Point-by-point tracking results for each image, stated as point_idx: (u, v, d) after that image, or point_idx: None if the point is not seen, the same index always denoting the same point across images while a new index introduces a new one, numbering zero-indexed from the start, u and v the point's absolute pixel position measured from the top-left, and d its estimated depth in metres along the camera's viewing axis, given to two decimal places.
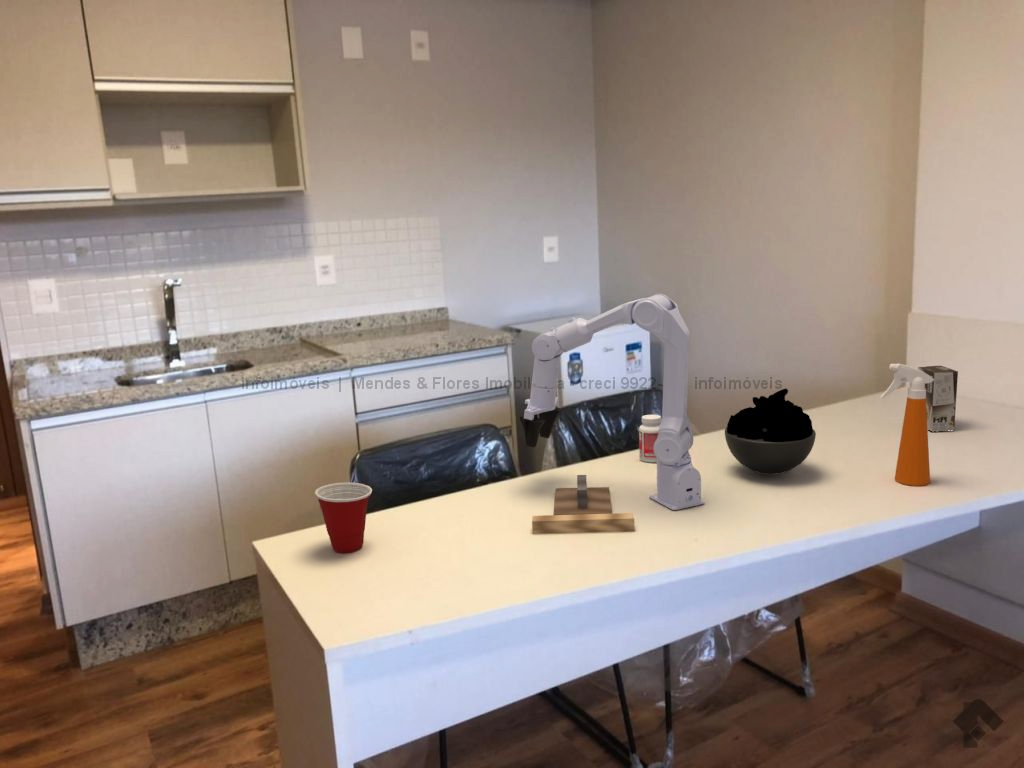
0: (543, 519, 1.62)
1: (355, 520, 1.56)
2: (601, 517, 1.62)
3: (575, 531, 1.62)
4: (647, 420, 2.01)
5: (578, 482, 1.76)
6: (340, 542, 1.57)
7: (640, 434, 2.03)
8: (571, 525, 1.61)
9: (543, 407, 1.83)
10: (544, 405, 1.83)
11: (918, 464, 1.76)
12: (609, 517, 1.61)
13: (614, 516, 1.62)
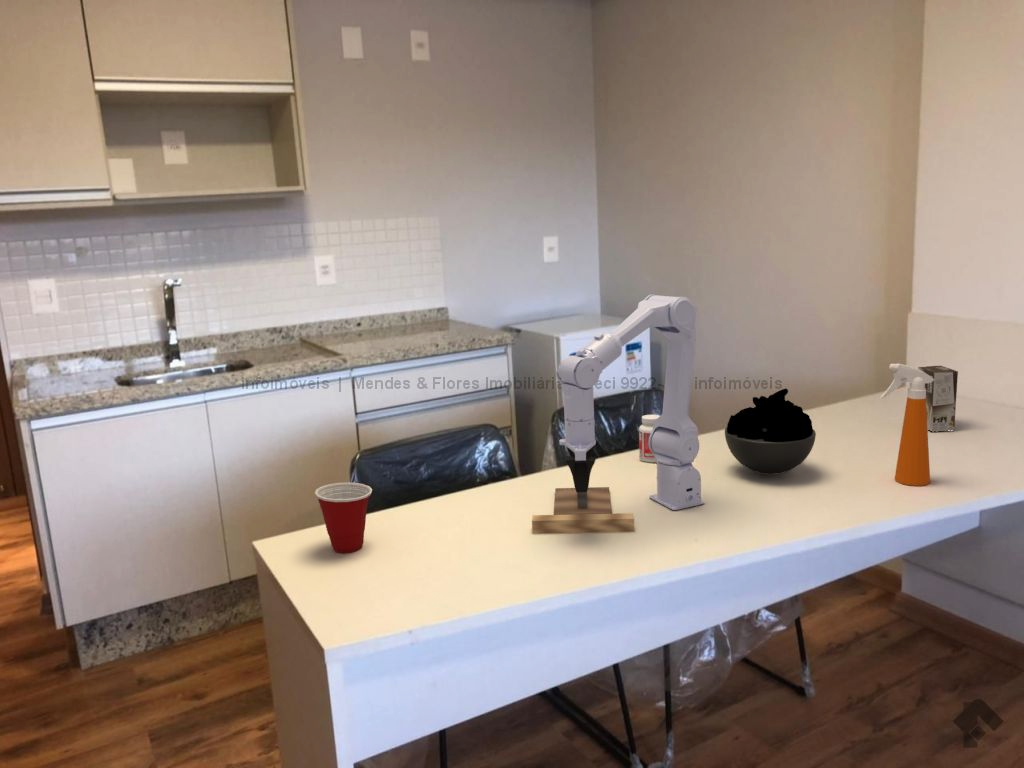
0: (543, 518, 1.63)
1: (356, 520, 1.56)
2: (601, 517, 1.62)
3: (575, 531, 1.62)
4: (647, 420, 2.01)
5: None
6: (340, 542, 1.57)
7: (640, 434, 2.03)
8: (571, 525, 1.61)
9: (587, 443, 1.57)
10: (588, 440, 1.57)
11: (918, 464, 1.76)
12: (609, 517, 1.61)
13: (614, 516, 1.62)
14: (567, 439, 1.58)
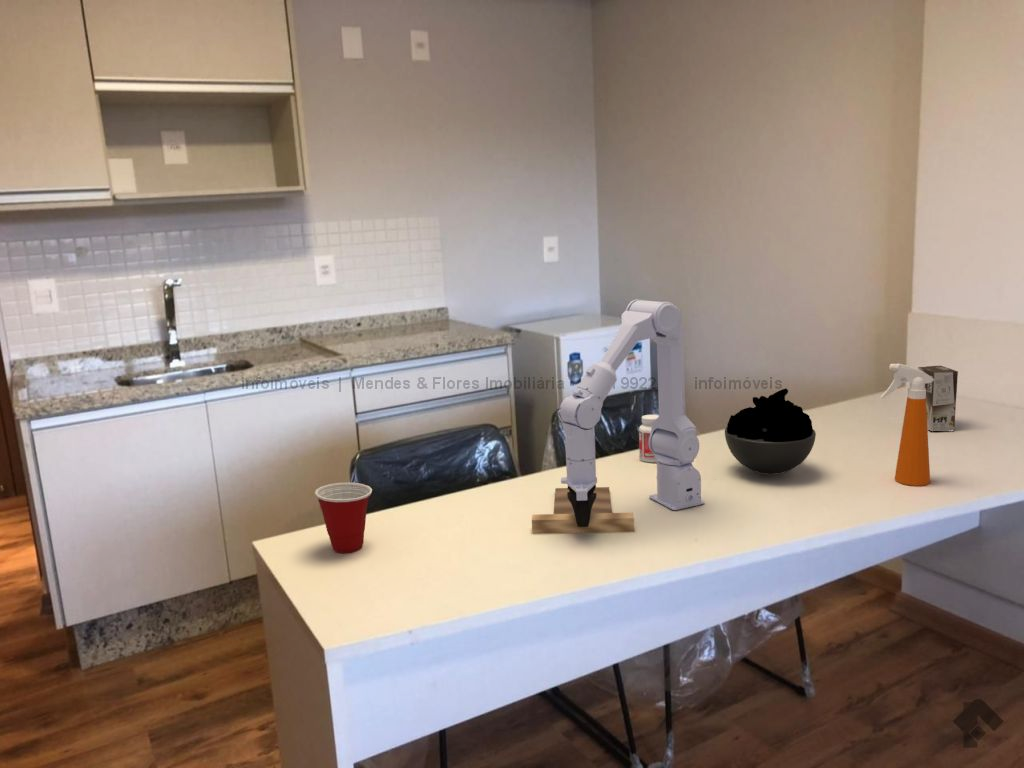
0: (543, 518, 1.63)
1: (355, 520, 1.56)
2: (601, 516, 1.62)
3: (575, 530, 1.62)
4: (647, 420, 2.01)
5: None
6: (340, 542, 1.57)
7: (640, 434, 2.03)
8: (570, 525, 1.61)
9: (589, 482, 1.58)
10: (589, 479, 1.58)
11: (918, 464, 1.76)
12: (608, 517, 1.61)
13: (614, 515, 1.62)
14: (569, 478, 1.59)
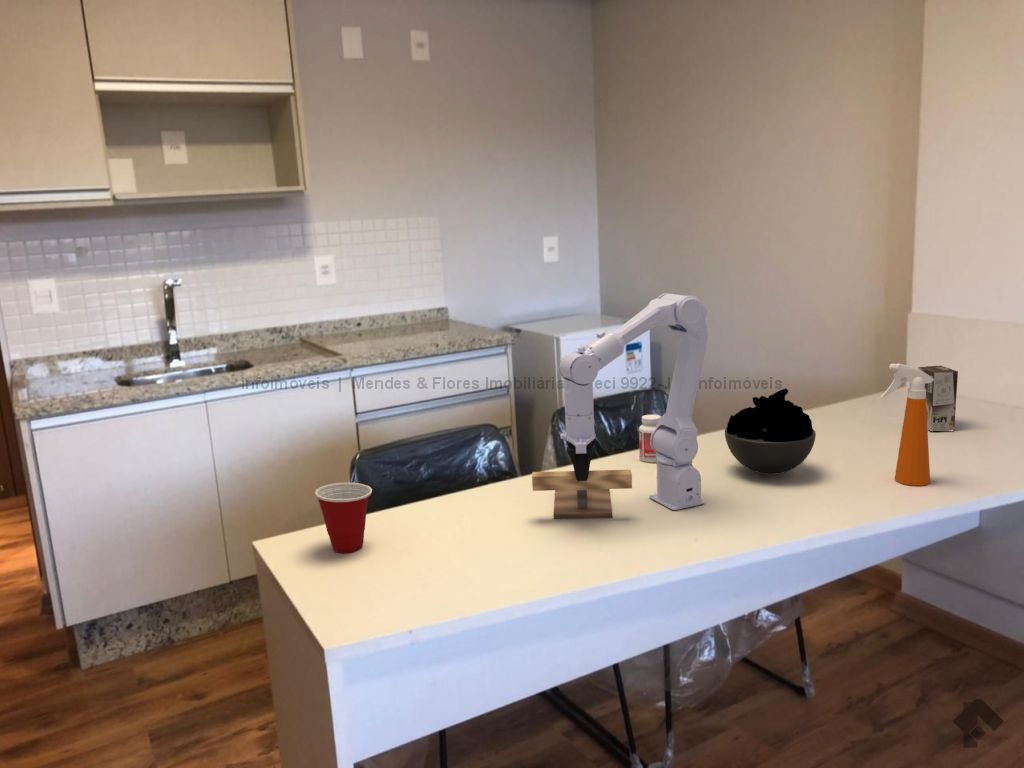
0: (543, 474, 1.67)
1: (355, 520, 1.56)
2: (599, 473, 1.66)
3: (574, 486, 1.66)
4: (647, 420, 2.01)
5: None
6: (340, 542, 1.57)
7: (640, 434, 2.03)
8: (570, 481, 1.66)
9: (587, 437, 1.62)
10: (588, 434, 1.62)
11: (918, 464, 1.76)
12: (607, 473, 1.65)
13: (612, 472, 1.66)
14: (568, 433, 1.63)
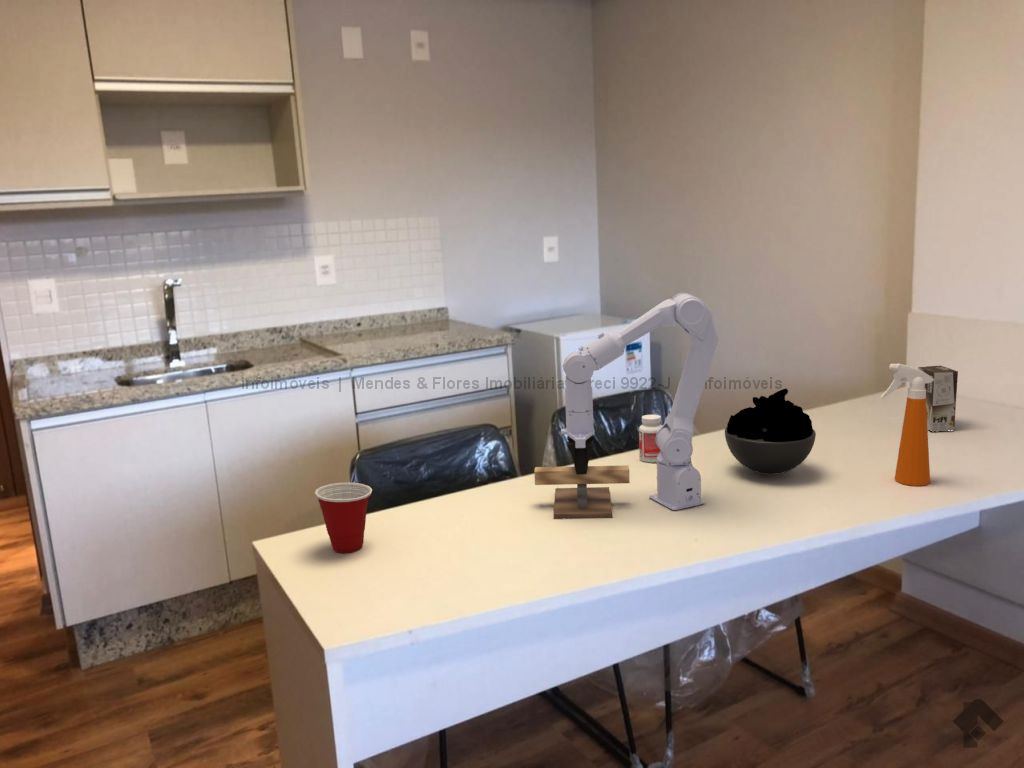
0: (545, 469, 1.75)
1: (356, 520, 1.56)
2: (598, 468, 1.74)
3: (574, 481, 1.74)
4: (647, 420, 2.01)
5: None
6: (340, 542, 1.57)
7: (640, 434, 2.03)
8: (570, 476, 1.74)
9: (587, 432, 1.71)
10: (587, 430, 1.71)
11: (918, 464, 1.76)
12: (606, 469, 1.74)
13: (610, 467, 1.74)
14: (568, 429, 1.72)
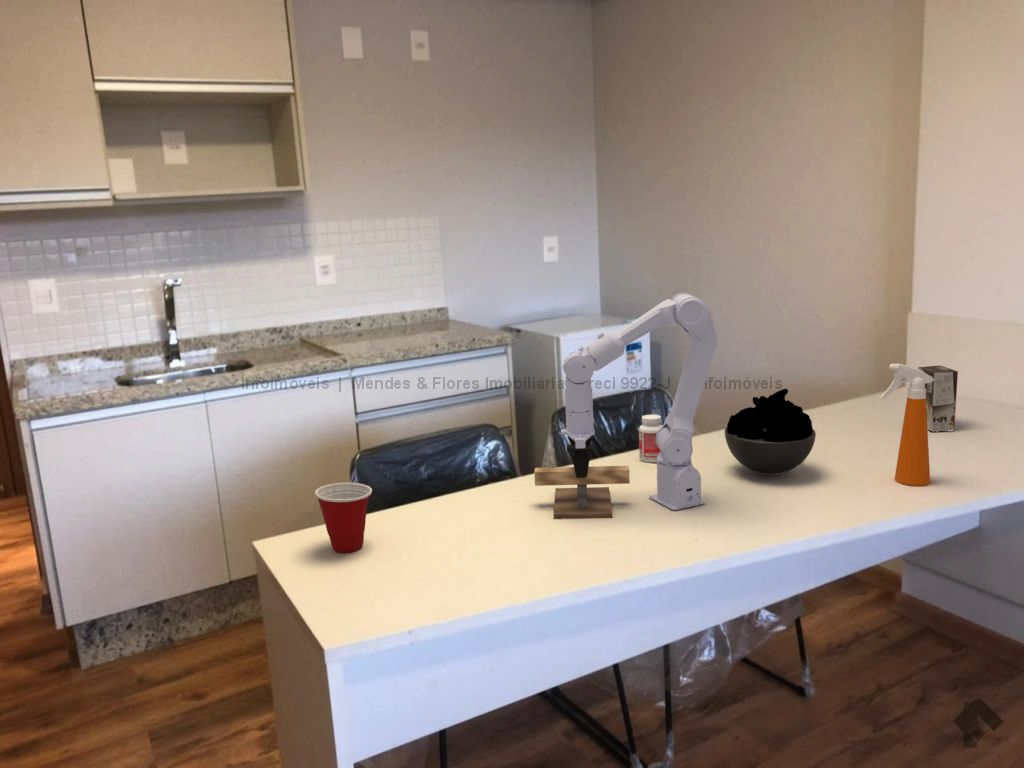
0: (545, 470, 1.75)
1: (355, 520, 1.56)
2: (598, 469, 1.74)
3: (574, 481, 1.74)
4: (647, 420, 2.01)
5: None
6: (340, 542, 1.57)
7: (640, 434, 2.03)
8: (570, 476, 1.74)
9: (587, 432, 1.71)
10: (587, 430, 1.71)
11: (918, 464, 1.76)
12: (606, 469, 1.74)
13: (610, 468, 1.74)
14: (568, 429, 1.72)
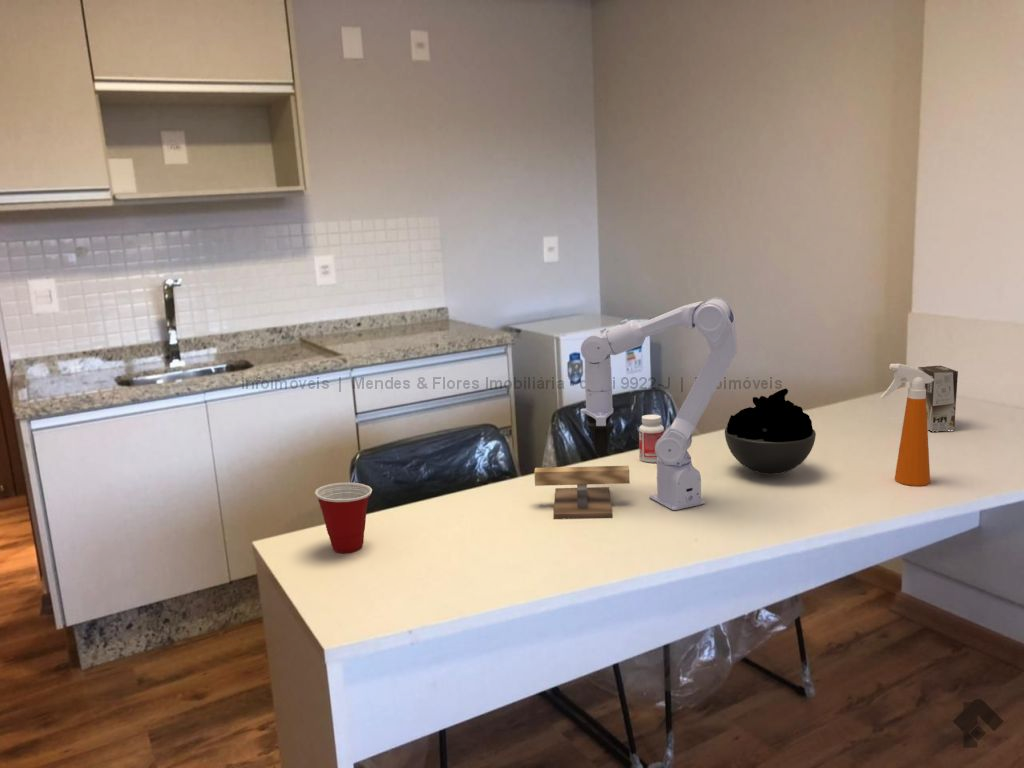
0: (545, 470, 1.75)
1: (355, 520, 1.56)
2: (598, 469, 1.74)
3: (574, 481, 1.74)
4: (647, 420, 2.01)
5: None
6: (340, 542, 1.57)
7: (640, 434, 2.03)
8: (570, 476, 1.74)
9: (606, 411, 1.75)
10: (607, 409, 1.76)
11: (918, 464, 1.76)
12: (606, 469, 1.74)
13: (610, 468, 1.74)
14: (588, 408, 1.77)
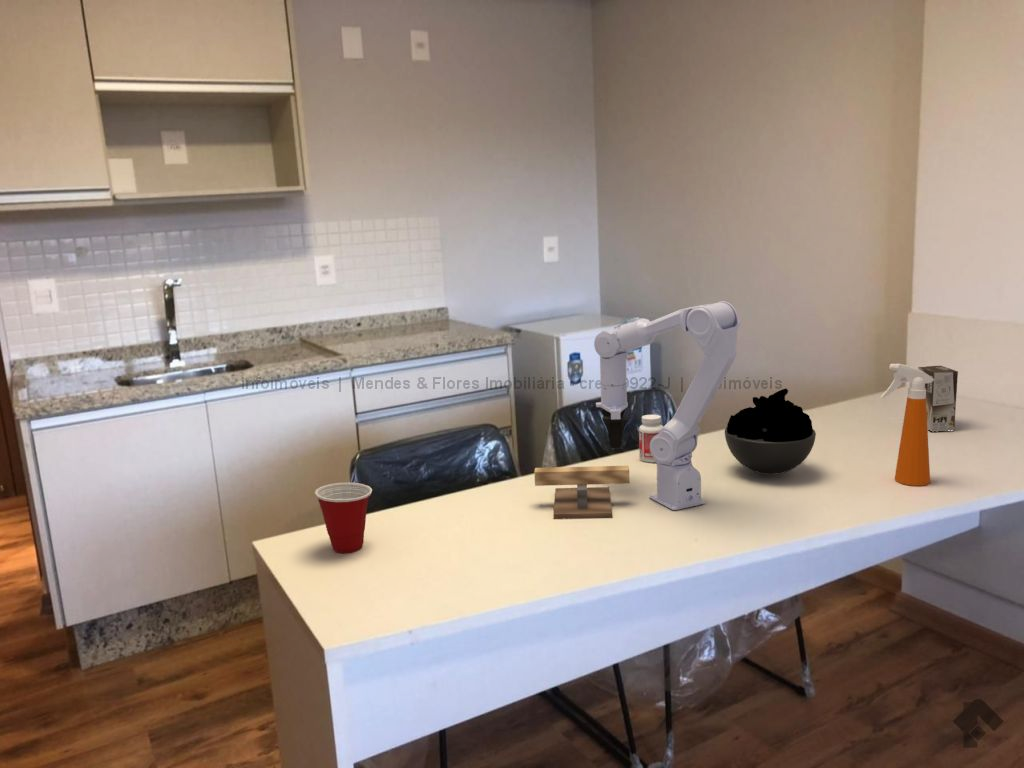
0: (545, 470, 1.75)
1: (355, 520, 1.56)
2: (598, 469, 1.74)
3: (574, 481, 1.74)
4: (647, 420, 2.01)
5: None
6: (340, 542, 1.57)
7: (640, 434, 2.03)
8: (570, 476, 1.74)
9: (621, 405, 1.80)
10: (621, 403, 1.80)
11: (918, 464, 1.76)
12: (606, 469, 1.74)
13: (610, 468, 1.74)
14: (603, 402, 1.81)
